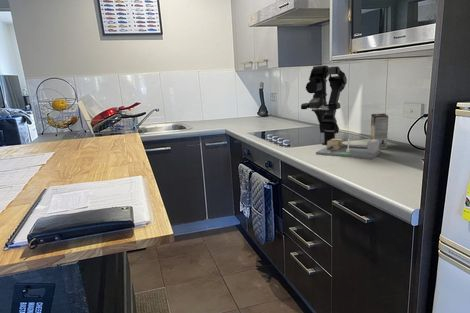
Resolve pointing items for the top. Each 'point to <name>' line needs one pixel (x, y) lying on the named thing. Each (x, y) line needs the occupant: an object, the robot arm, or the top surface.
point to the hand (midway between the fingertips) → (320, 123)
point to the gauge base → (355, 151)
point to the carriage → (334, 144)
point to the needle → (348, 147)
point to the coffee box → (379, 129)
